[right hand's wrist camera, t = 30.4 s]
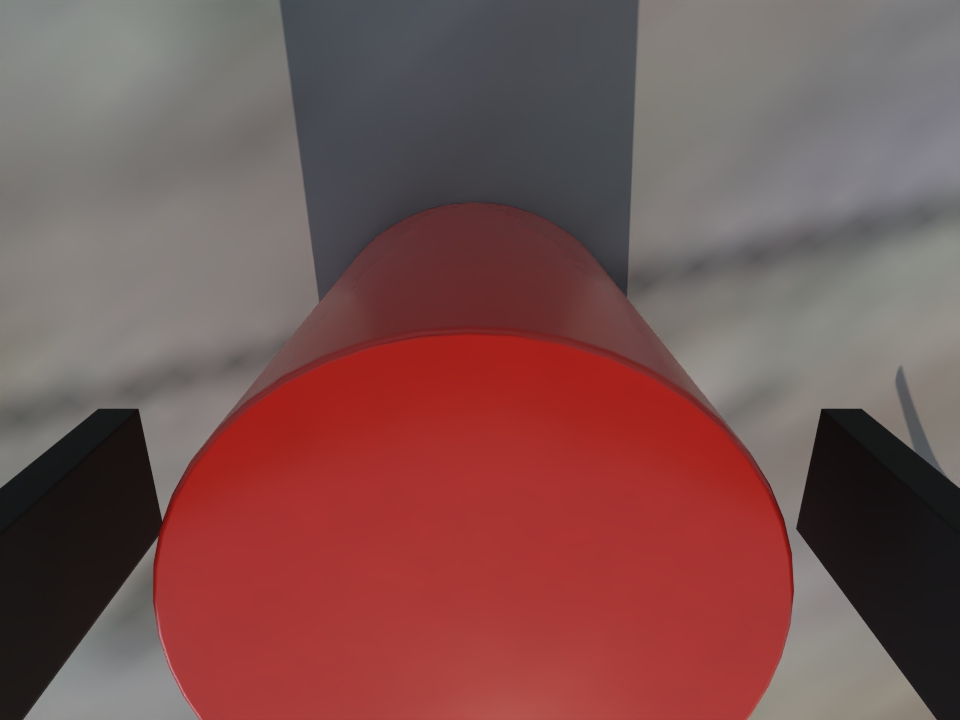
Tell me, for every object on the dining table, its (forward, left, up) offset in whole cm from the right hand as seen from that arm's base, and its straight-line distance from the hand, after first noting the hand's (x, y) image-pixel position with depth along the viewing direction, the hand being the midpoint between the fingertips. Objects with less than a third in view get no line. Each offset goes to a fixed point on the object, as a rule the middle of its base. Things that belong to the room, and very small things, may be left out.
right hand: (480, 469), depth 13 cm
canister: (0, 0, -8) cm, 8 cm away
